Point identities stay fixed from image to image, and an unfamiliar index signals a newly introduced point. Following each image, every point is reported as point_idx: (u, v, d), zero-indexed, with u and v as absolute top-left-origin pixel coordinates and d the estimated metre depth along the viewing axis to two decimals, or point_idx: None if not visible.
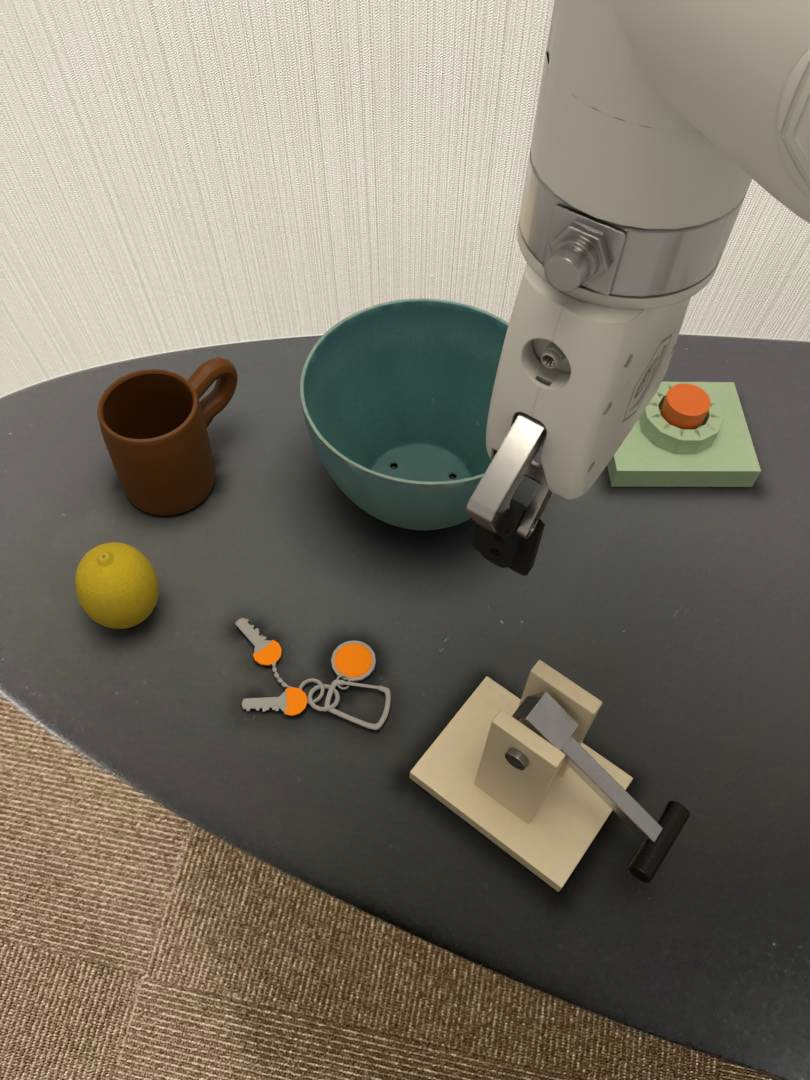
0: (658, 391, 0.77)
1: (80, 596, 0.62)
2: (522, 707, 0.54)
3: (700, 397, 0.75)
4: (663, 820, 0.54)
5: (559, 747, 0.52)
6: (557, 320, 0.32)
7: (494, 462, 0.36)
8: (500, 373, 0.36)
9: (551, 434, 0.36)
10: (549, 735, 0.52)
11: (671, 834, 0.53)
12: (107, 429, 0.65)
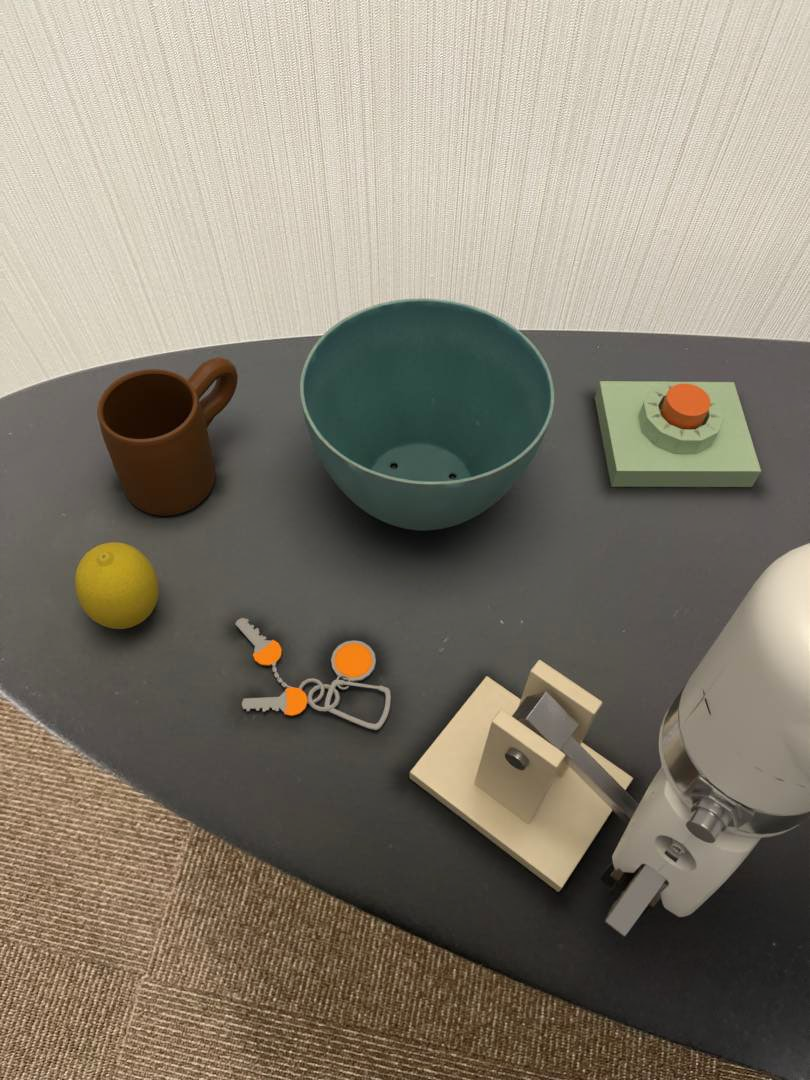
0: (658, 391, 0.77)
1: (80, 596, 0.62)
2: (522, 707, 0.54)
3: (700, 397, 0.75)
4: None
5: (559, 747, 0.52)
6: (689, 836, 0.41)
7: (625, 897, 0.46)
8: (634, 837, 0.44)
9: (672, 887, 0.44)
10: (549, 735, 0.52)
11: None
12: (107, 429, 0.65)
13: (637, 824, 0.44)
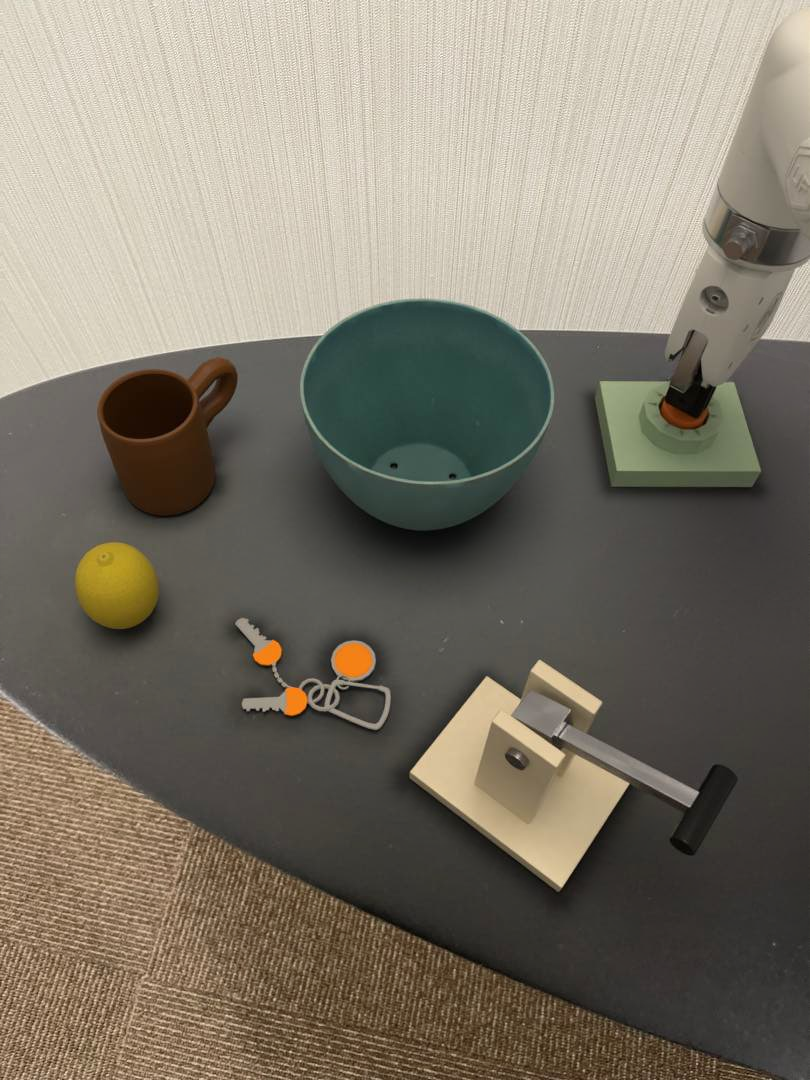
0: (658, 391, 0.77)
1: (80, 596, 0.62)
2: None
3: None
4: (701, 785, 0.48)
5: (550, 733, 0.51)
6: (724, 276, 0.60)
7: (680, 364, 0.66)
8: (684, 306, 0.63)
9: (710, 343, 0.63)
10: (538, 725, 0.52)
11: (708, 795, 0.48)
12: (107, 429, 0.65)
13: (686, 295, 0.63)
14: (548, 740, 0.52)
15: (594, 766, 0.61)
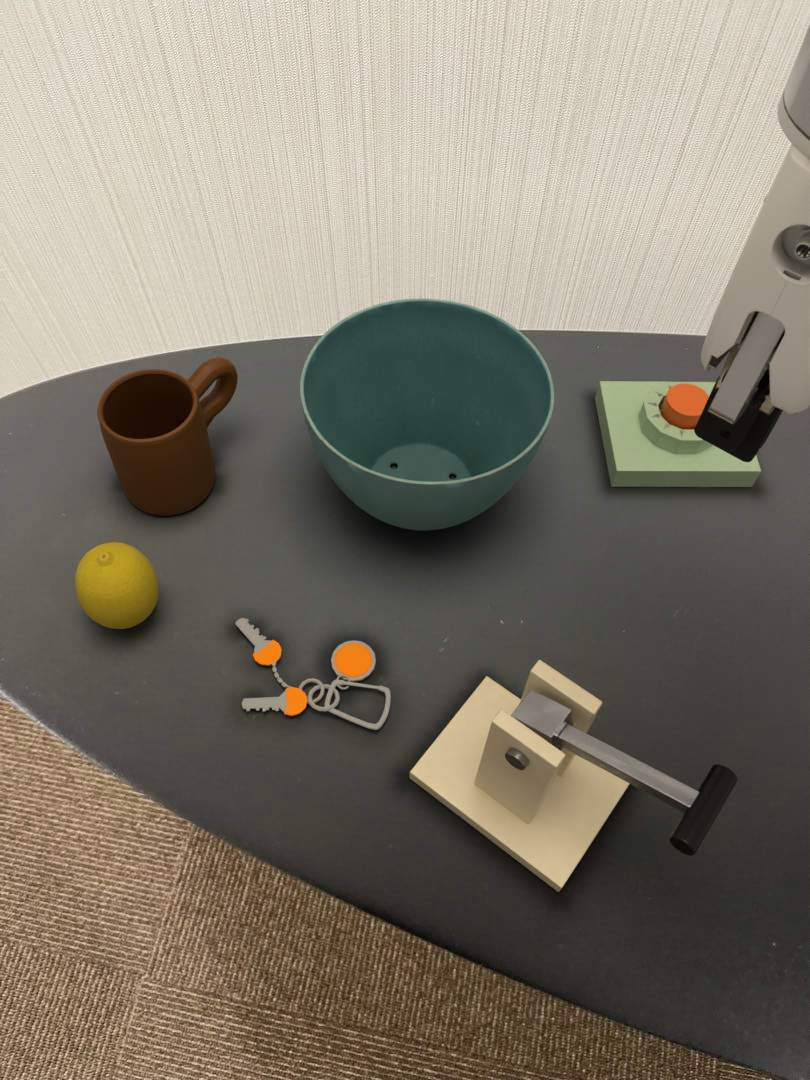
0: (658, 391, 0.77)
1: (80, 596, 0.62)
2: None
3: (700, 397, 0.75)
4: (701, 785, 0.48)
5: (550, 733, 0.51)
6: None
7: (730, 374, 0.37)
8: (741, 268, 0.34)
9: (789, 335, 0.34)
10: (538, 725, 0.52)
11: (708, 795, 0.48)
12: (107, 429, 0.65)
13: (745, 245, 0.34)
14: (548, 740, 0.52)
15: (594, 766, 0.61)
